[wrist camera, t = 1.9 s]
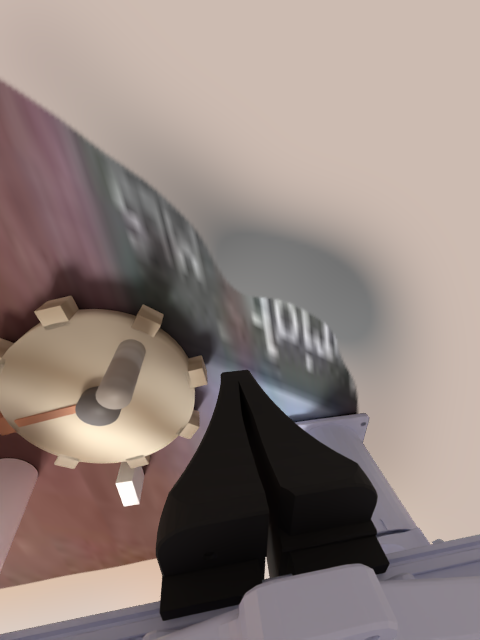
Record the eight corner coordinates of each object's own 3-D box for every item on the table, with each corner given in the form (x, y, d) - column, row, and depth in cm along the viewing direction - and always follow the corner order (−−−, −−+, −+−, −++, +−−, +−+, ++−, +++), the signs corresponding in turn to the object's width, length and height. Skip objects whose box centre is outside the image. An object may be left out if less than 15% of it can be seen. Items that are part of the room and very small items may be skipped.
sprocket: (154, 470, 23) (144, 545, 19) (-33, 421, 18) (-114, 505, 14) (242, 353, 19) (258, 410, 14) (32, 250, 14) (-51, 282, 9)
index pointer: (144, 475, 24) (139, 504, 22) (130, 477, 24) (124, 506, 22) (138, 453, 23) (132, 480, 20) (123, 455, 22) (115, 483, 20)
